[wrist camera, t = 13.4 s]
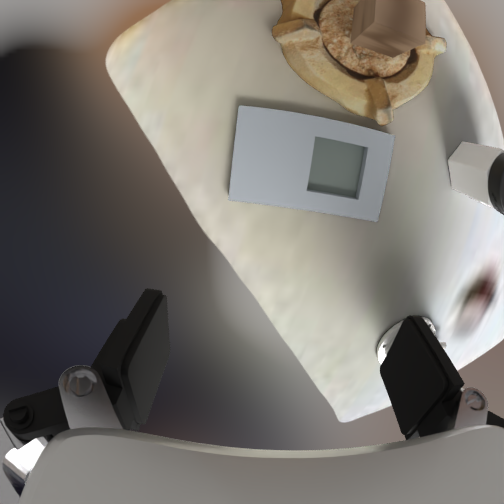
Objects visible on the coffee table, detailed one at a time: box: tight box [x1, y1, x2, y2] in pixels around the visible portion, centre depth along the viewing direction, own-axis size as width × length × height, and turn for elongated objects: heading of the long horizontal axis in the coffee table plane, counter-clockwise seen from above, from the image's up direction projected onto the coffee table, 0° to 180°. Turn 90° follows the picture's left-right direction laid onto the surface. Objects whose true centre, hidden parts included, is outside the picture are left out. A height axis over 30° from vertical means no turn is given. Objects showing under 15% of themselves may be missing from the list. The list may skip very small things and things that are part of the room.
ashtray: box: [272, 0, 447, 126], centre depth 25 cm, size 24×24×5 cm
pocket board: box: [228, 105, 395, 222], centre depth 34 cm, size 20×12×2 cm, turn 83°
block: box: [350, 0, 426, 58], centre depth 19 cm, size 6×6×8 cm
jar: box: [448, 142, 504, 215], centre depth 27 cm, size 9×8×12 cm
